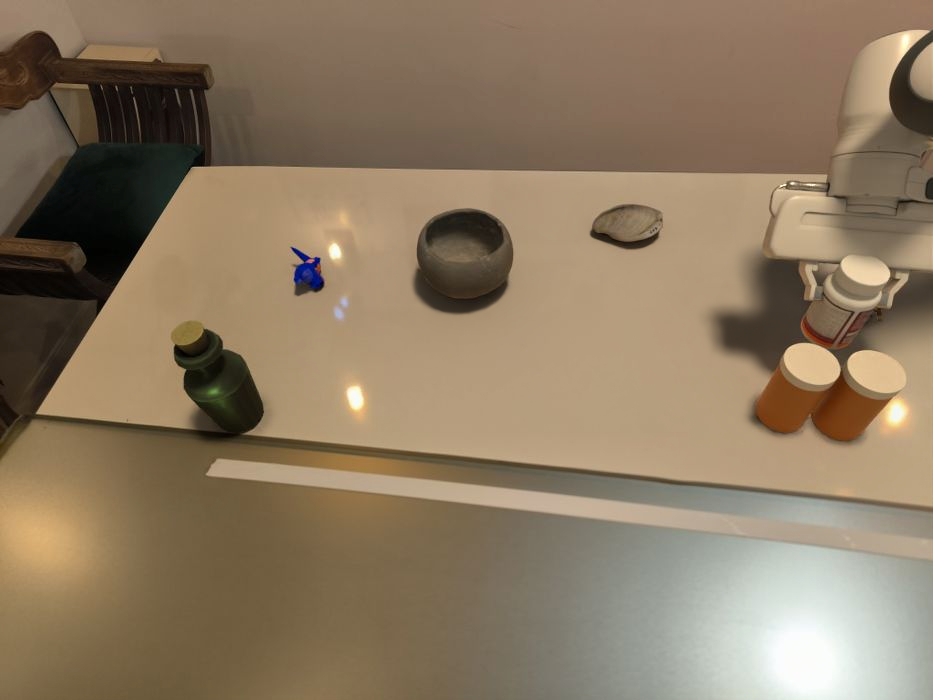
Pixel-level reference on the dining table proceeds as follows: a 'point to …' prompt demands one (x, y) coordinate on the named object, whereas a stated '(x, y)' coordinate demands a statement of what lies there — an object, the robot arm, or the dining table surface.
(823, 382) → the matching pill bottles
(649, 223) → the seashell
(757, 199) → the dining table surface
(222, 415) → the potion bottle
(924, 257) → the robot arm
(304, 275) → the figurine
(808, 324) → the pill bottle
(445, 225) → the bowl
